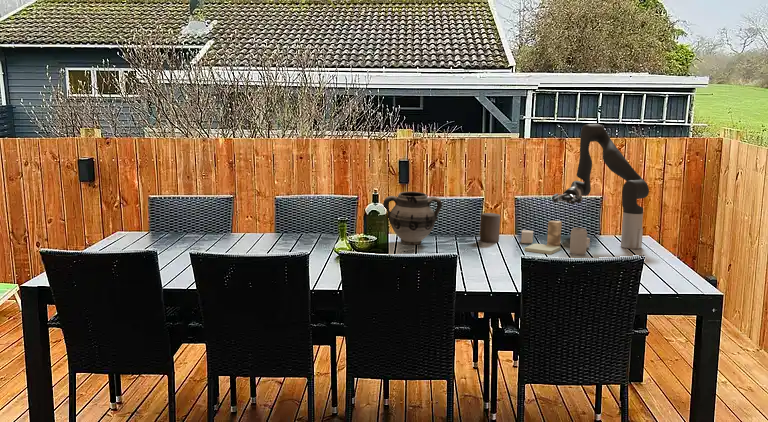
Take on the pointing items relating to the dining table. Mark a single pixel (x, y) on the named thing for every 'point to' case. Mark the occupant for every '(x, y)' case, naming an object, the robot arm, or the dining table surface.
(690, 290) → the dining table surface
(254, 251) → the dining table surface
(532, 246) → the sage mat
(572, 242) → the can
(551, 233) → the oak block
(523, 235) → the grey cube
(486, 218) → the pillar candle
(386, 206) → the ceramic pot
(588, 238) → the steel puck
